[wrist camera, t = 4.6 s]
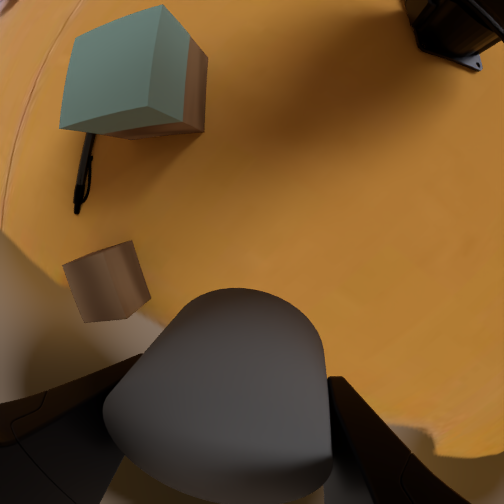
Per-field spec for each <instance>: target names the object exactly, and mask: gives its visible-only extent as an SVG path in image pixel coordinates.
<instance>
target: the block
mask: <svg viewBox="0 0 504 504" xmlns="http://www.w3.org/2000/svg"><path fill="white" fill-rule="evenodd" d="M62 266H63V269H64V272H65V275H66V278H67V280H68V283H69V286H70V289H71V291H72V294H73V297H74V299H75V302H76V304H77V307H78V309H79V312H80V314H81V316H82V319H83V321H84V323H88V322H98V321H110V320H119V319H127V318H128V317H130V316H131V315H132V314H133V313H134V312H136V311H137V310H138V309H139V308H140V307H141V306H143V305H144V304H145V303H146V302H147V301H148V300H150V299H151V296H150V293H149V290H148V288H147V285H146V282H145V279H144V276H143V273H142V270H141V267H140V264H139V261H138V258H137V255H136V252H135V248H134V245H133V242H132V240H131V241H127V242H124V243H121V244H118V245H114V246H111V247H108V248H105V249H102V250H99V251H96V252H92V253H90V254H87V255H85V256H83V257H80V258H78V259H75V260H73V261H71V262H68V263H66V264H64V265H62Z"/></svg>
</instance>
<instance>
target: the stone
mask: <svg viewBox="0 0 504 504" xmlns="http://www.w3.org/2000/svg"><path fill="white" fill-rule="evenodd" d="M103 419H104V422H105V426H106V428H107V430H108V432H109V434H110V436H111V438H112V439H113V441H114V442H115V444H116V445H117V446H118V448H119V449H120V450H121V451H122V452H123V453H124V454H125V455H126V456H127V457H128V458H129V459H130V460H131V461H132V462H133V463H134V464H135V465H137V466H138V467H139V468H140V469H142V470H143V471H144V472H146V473H147V474H149V475H150V476H152V477H153V478H155V479H157V480H158V481H160V482H162V483H164V484H165V485H167V486H169V487H171V488H174V489H176V490H178V491H180V492H183V493H185V494H188V495H191V496H194V497H197V498H200V499H204V500H207V501H212V502H216V503H222V504H282V503H287V502H290V501H294V500H297V499H299V498H302V497H305V496H307V495H309V494H311V493H313V492H314V491H316V490H317V489H318V488H320V487H321V486H322V485H323V484H324V483H325V482H326V481H327V479H328V478H329V476H330V475H331V472H332V469H333V452H332V435H331V420H330V407H329V396H328V385H327V375H326V366H325V357H324V349H323V345H322V341H321V339H320V336H319V334H318V332H317V330H316V329H315V327H314V326H313V324H312V323H311V322H310V320H309V319H308V318H307V317H306V316H305V315H304V314H303V313H302V312H301V311H300V310H298V309H297V308H296V307H294V306H293V305H291V304H290V303H288V302H287V301H285V300H283V299H281V298H279V297H277V296H274V295H271V294H269V293H266V292H262V291H258V290H253V289H246V288H227V289H219V290H215V291H211V292H208V293H206V294H203V295H201V296H199V297H197V298H195V299H194V300H192V301H191V302H189V303H188V304H187V305H186V306H184V308H183V309H182V310H181V311H180V312H179V313H178V314H177V316H176V317H175V318H174V319H173V320H172V321H171V322H170V324H169V325H168V326H167V327H166V328H165V329H164V330H163V332H162V333H161V334H160V335H159V336H158V337H157V339H156V340H155V341H154V342H153V343H152V344H151V345H150V347H149V348H148V349H147V350H146V351H145V353H144V354H143V355H142V356H141V357H140V358H139V359H138V361H137V362H136V363H135V364H134V365H133V366H132V368H131V369H130V370H129V371H128V372H127V373H126V375H125V376H124V377H123V378H122V379H121V381H120V382H119V383H118V384H117V385H116V386H115V388H114V389H113V390H112V391H111V392H110V394H109V395H108V396H107V397H106V399H105V402H104V404H103Z"/></svg>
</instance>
